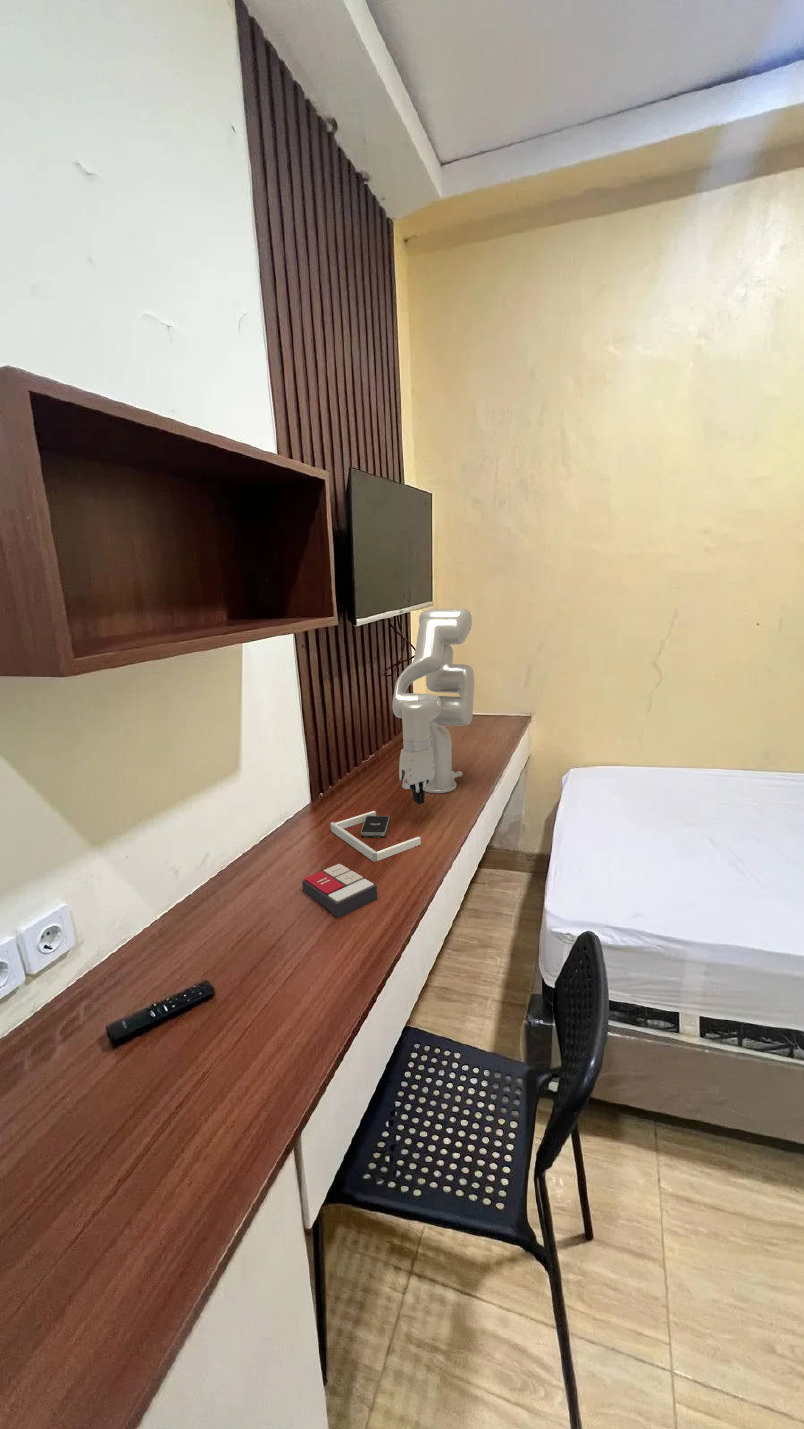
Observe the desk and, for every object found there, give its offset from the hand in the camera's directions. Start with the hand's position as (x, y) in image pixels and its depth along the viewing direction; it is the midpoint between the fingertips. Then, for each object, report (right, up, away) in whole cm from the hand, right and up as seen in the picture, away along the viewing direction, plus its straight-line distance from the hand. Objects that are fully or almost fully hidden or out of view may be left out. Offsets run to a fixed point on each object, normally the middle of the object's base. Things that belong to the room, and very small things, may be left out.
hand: (419, 802), depth 166 cm
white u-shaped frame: (-13, -9, -8) cm, 17 cm away
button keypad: (-19, -16, -35) cm, 43 cm away
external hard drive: (-13, -8, -3) cm, 15 cm away
